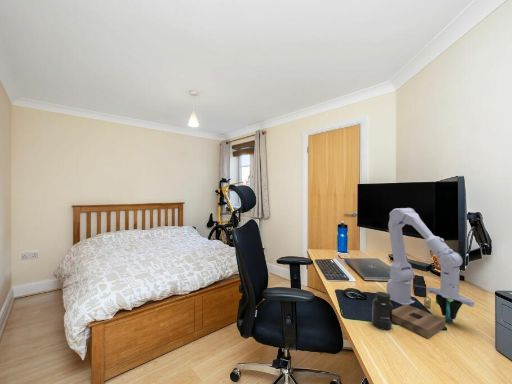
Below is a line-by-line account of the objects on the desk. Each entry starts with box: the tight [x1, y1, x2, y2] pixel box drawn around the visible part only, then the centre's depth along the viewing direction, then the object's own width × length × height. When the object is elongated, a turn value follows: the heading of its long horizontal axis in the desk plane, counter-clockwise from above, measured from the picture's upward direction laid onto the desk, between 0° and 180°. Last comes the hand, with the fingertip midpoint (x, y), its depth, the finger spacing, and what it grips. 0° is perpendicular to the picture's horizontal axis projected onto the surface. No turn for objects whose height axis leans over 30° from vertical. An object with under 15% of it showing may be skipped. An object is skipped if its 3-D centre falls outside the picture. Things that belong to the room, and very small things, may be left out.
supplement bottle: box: [371, 291, 394, 331], centre depth 90 cm, size 7×7×12 cm
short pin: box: [423, 296, 432, 310], centre depth 105 cm, size 2×2×4 cm
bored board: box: [392, 304, 446, 340], centre depth 92 cm, size 14×14×3 cm
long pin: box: [444, 301, 454, 324], centre depth 93 cm, size 2×2×8 cm
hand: (448, 316), depth 93 cm, fingers closed on long pin, 2 cm apart
